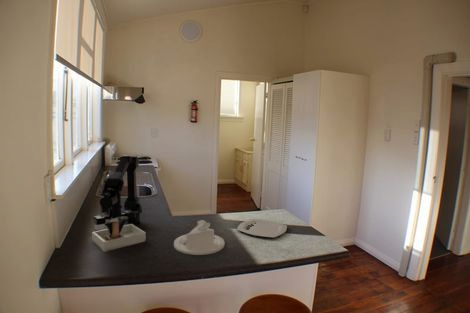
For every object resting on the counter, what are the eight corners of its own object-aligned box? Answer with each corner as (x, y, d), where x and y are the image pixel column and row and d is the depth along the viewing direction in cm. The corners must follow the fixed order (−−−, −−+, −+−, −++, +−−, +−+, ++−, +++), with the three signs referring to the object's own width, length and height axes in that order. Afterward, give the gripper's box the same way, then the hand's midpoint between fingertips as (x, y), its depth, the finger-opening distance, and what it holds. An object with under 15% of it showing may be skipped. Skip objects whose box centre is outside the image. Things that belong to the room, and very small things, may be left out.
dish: (197, 231, 165) (197, 211, 164) (234, 243, 151) (235, 221, 150) (163, 245, 145) (163, 223, 144) (202, 260, 131) (202, 235, 130)
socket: (119, 236, 151) (119, 232, 151) (125, 240, 146) (125, 236, 146) (105, 239, 146) (105, 235, 146) (110, 244, 141) (110, 240, 141)
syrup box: (95, 230, 160) (124, 228, 165) (95, 220, 159) (124, 218, 164) (96, 227, 165) (124, 225, 170) (96, 216, 165) (124, 215, 170)
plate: (230, 232, 165) (230, 229, 165) (250, 219, 189) (250, 216, 189) (276, 243, 153) (276, 239, 153) (292, 228, 177) (292, 224, 177)
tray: (131, 231, 160) (131, 223, 160) (145, 241, 149) (145, 232, 148) (92, 240, 147) (92, 232, 146) (104, 251, 135) (104, 242, 135)
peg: (117, 236, 149) (117, 220, 148) (120, 238, 146) (120, 222, 145) (109, 237, 146) (109, 222, 145) (112, 240, 144) (112, 224, 143)
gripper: (126, 196, 156) (126, 225, 158) (88, 202, 144) (89, 233, 145) (136, 201, 148) (136, 231, 150) (96, 207, 136) (97, 240, 137)
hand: (115, 234), depth 146 cm, fingers open, 4 cm apart
